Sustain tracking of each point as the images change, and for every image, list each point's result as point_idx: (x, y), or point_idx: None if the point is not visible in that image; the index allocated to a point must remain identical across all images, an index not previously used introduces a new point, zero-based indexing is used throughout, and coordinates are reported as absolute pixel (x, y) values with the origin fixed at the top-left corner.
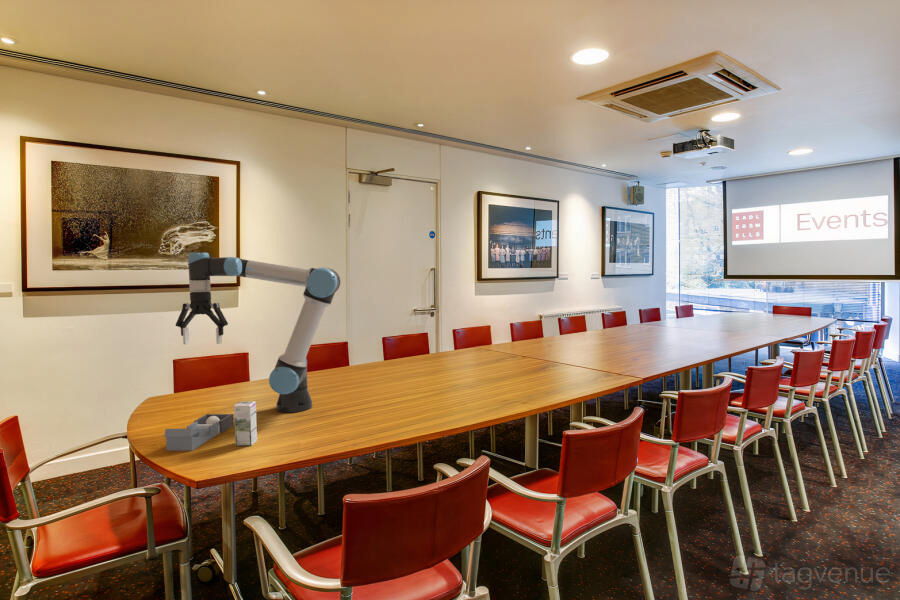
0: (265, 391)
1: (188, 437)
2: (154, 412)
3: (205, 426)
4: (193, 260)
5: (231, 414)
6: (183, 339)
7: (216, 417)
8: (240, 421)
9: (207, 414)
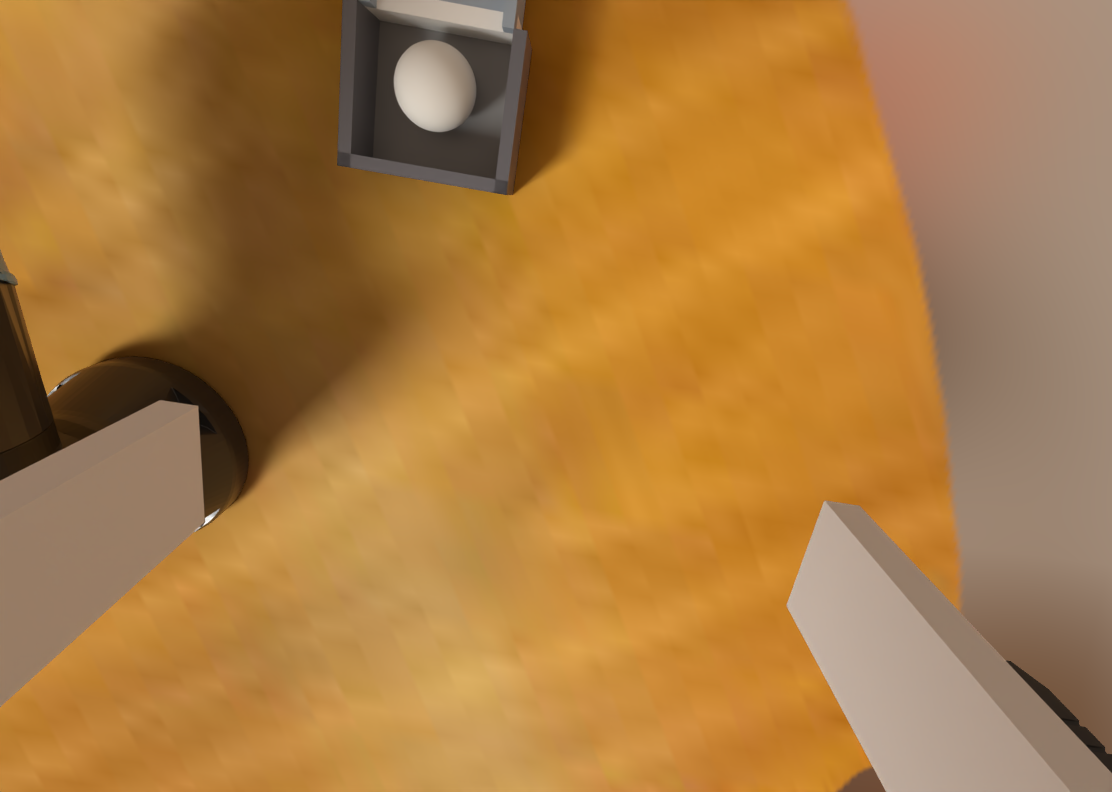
0: (435, 745)
1: None
2: (881, 485)
3: None
4: None
5: (342, 154)
6: (908, 564)
7: (402, 78)
8: None
9: (498, 183)
